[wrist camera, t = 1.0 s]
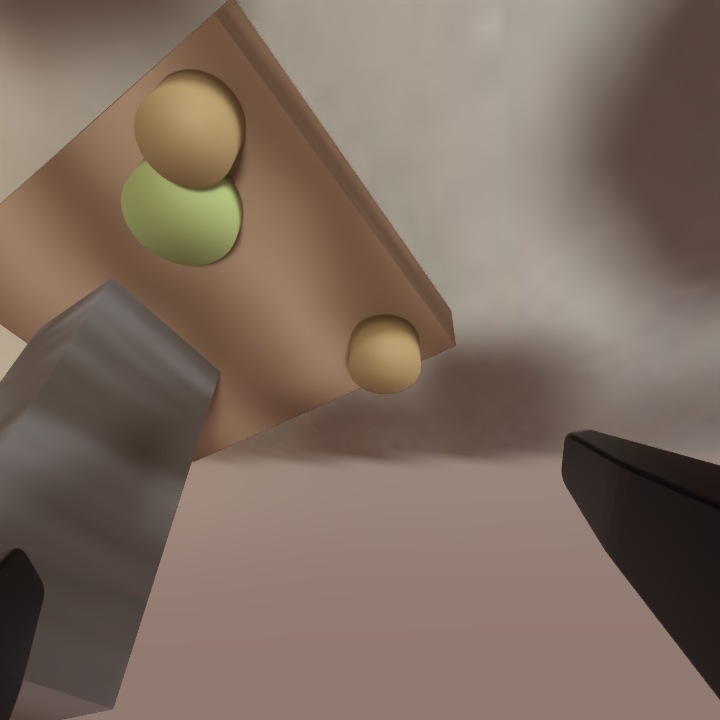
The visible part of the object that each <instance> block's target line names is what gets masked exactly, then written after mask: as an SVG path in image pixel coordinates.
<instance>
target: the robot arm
mask: <svg viewBox="0 0 720 720" xmlns="http://www.w3.org/2000/svg"><path fill="white" fill-rule="evenodd" d="M562 477H563V481H564V483H565V485H566V487H567V489H568V490H569V492H570V494H571V495H572V497H573V499H574V500H575V502H576V504H577V505H578V507H579V508H580V510H581V512H582V514H583V515H584V517H585V519H586V520H587V522H588V524H589V525H590V527H591V529H592V530H593V532H594V534H595V535H596V537H597V538H598V540H599V541H600V543H601V545H602V546H603V548H604V549H605V551H606V552H607V554H608V555H609V556H610V558H611V559H612V560H613V562H614V563H615V564H616V566H617V567H618V568H619V570H620V571H621V572H622V573H623V575H624V576H625V577H626V579H627V580H628V581H629V582H630V584H631V585H632V586H633V588H634V589H635V590H636V591H637V593H638V594H639V595H640V597H641V598H642V599H643V601H644V602H645V603H646V605H647V606H648V607H649V609H650V610H651V611H652V612H653V614H654V615H655V616H656V618H657V619H658V620H659V622H660V623H661V624H662V625H663V627H664V628H665V629H666V631H667V632H668V633H669V634H670V636H671V637H672V638H673V639H674V641H675V642H676V643H677V645H678V646H679V647H680V649H681V650H682V651H683V653H684V654H685V655H686V657H687V658H688V659H689V660H690V662H691V663H692V664H693V666H694V667H695V668H696V670H697V671H698V672H699V673H700V675H701V676H702V677H703V678H704V680H705V681H706V682H707V684H708V685H709V686H710V688H711V689H712V690H713V691H714V693H715V694H716V696H717V697H718V698H719V699H720V465H716V464H713V463H709V462H706V461H702V460H698V459H695V458H691V457H687V456H684V455H680V454H677V453H673V452H669V451H666V450H662V449H658V448H655V447H651V446H648V445H644V444H640V443H637V442H633V441H629V440H626V439H622V438H619V437H615V436H611V435H608V434H604V433H600V432H597V431H593V430H583V431H578V432H573V433H569V434H568V435H567V436H566V438H565V441H564V451H563V460H562ZM44 593H45V591H44V585H43V582H42V579H41V578H40V576H39V574H38V573H37V571H36V569H35V568H34V566H33V564H32V562H31V561H30V559H29V557H28V556H27V554H26V553H25V551H24V550H22V549H20V548H12V549H7V550H2V551H0V720H10V718H11V715H12V712H13V710H14V707H15V704H16V701H17V699H18V696H19V693H20V690H21V687H22V684H23V680H24V677H25V673H26V669H27V665H28V661H29V657H30V653H31V649H32V645H33V641H34V637H35V634H36V630H37V626H38V622H39V618H40V614H41V610H42V606H43V602H44Z"/></svg>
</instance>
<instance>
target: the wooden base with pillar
mask: <svg viewBox="0 0 720 720" xmlns="http://www.w3.org/2000/svg"><path fill="white" fill-rule="evenodd" d="M0 324H1V325H2V326H4V327H5V328H7V329H8V330H9V331H11V332H12V333H14V334H15V335H16V336H18V337H19V338H21V339H22V340H23V341H25V342H26V343H28V344H27V346H26V347H25V349H24V350H23V351H22V353H21V354H20V355H19V357H18V358H17V360H16V361H15V362H14V364H13V365H12V367H11V368H10V369H9V371H8V372H7V373H6V375H5V376H4V378H3V379H2V380H1V382H0V551H2V550H7V549H12V548H20V549H22V550H24V551H25V553H26V554H27V556H28V557H29V559H30V561H31V562H32V564H33V566H34V568H35V569H36V571H37V573H38V574H39V576H40V578H41V579H42V582H43V585H44V591H45V593H44V602H43V606H42V610H41V614H40V618H39V622H38V626H37V630H36V634H35V637H34V641H33V645H32V649H31V653H30V657H29V661H28V665H27V669H26V673H25V677H24V680H23V684H22V687H21V690H20V693H19V696H18V699H17V701H16V704H15V707H14V710H13V712H12V715H11V718H10V720H63V719H67V718H72V717H78V716H82V715H87V714H92V713H97V712H102V711H107V710H112V709H113V708H114V705H115V702H116V699H117V696H118V693H119V689H120V686H121V683H122V680H123V677H124V673H125V670H126V667H127V664H128V661H129V658H130V655H131V651H132V648H133V645H134V642H135V639H136V636H137V633H138V629H139V626H140V623H141V620H142V617H143V613H144V611H145V607H146V604H147V601H148V598H149V594H150V592H151V589H152V585H153V582H154V579H155V576H156V573H157V569H158V566H159V563H160V560H161V557H162V554H163V551H164V547H165V544H166V541H167V538H168V535H169V531H170V529H171V525H172V522H173V519H174V516H175V513H176V509H177V507H178V503H179V500H180V497H181V494H182V491H183V488H184V484H185V481H186V478H187V475H188V472H189V469H190V466H191V462H192V461H193V462H194V461H197V460H199V459H201V458H203V457H206V456H208V455H210V454H212V453H215V452H217V451H219V450H221V449H224V448H226V447H228V446H230V445H233V444H235V443H237V442H240V441H242V440H244V439H246V438H249V437H251V436H253V435H255V434H258V433H260V432H262V431H264V430H267V429H269V428H271V427H273V426H276V425H278V424H280V423H282V422H285V421H287V420H289V419H291V418H294V417H296V416H298V415H300V414H303V413H305V412H307V411H309V410H312V409H314V408H316V407H318V406H321V405H323V404H325V403H328V402H330V401H332V400H334V399H337V398H339V397H341V396H343V395H346V394H348V393H350V392H352V391H355V390H357V389H359V388H363V389H365V390H367V391H370V392H373V393H379V394H391V393H397V392H400V391H403V390H405V389H407V388H409V387H410V386H411V385H413V384H414V383H415V382H416V380H417V379H418V377H419V375H420V372H421V361H422V360H425V359H427V358H429V357H431V356H434V355H436V354H438V353H440V352H443V351H445V350H447V349H449V348H452V347H454V346H456V343H455V336H454V328H453V321H452V314H451V310H450V308H449V307H448V305H447V304H446V303H445V301H444V300H443V298H442V297H441V295H440V294H439V293H438V291H437V290H436V288H435V287H434V285H433V284H432V282H431V281H430V280H429V278H428V277H427V275H426V274H425V272H424V271H423V270H422V268H421V267H420V265H419V264H418V262H417V261H416V260H415V258H414V257H413V255H412V254H411V252H410V251H409V249H408V248H407V247H406V245H405V244H404V242H403V241H402V239H401V238H400V237H399V235H398V234H397V232H396V231H395V229H394V228H393V226H392V225H391V224H390V222H389V221H388V219H387V218H386V216H385V215H384V214H383V212H382V211H381V209H380V208H379V206H378V205H377V204H376V202H375V201H374V199H373V198H372V196H371V195H370V193H369V192H368V191H367V189H366V188H365V186H364V185H363V183H362V182H361V181H360V179H359V178H358V176H357V175H356V173H355V172H354V171H353V169H352V168H351V166H350V165H349V163H348V162H347V160H346V159H345V158H344V156H343V155H342V153H341V152H340V150H339V149H338V148H337V146H336V145H335V143H334V142H333V140H332V139H331V138H330V136H329V135H328V133H327V132H326V130H325V129H324V127H323V126H322V125H321V123H320V122H319V120H318V119H317V117H316V116H315V115H314V113H313V112H312V110H311V109H310V107H309V106H308V105H307V103H306V102H305V100H304V99H303V97H302V96H301V94H300V93H299V92H298V90H297V89H296V87H295V86H294V84H293V83H292V82H291V80H290V79H289V77H288V76H287V74H286V73H285V71H284V70H283V69H282V67H281V66H280V64H279V63H278V61H277V60H276V59H275V57H274V56H273V54H272V53H271V51H270V50H269V49H268V47H267V46H266V44H265V43H264V41H263V40H262V38H261V37H260V36H259V34H258V33H257V31H256V30H255V28H254V27H253V26H252V24H251V23H250V21H249V20H248V18H247V17H246V16H245V14H244V13H243V11H242V10H241V8H240V7H239V5H238V4H237V3H236V1H235V0H228V1H227V2H226V3H225V4H224V5H223V6H222V7H220V8H219V9H218V10H217V11H216V12H215V13H214V14H213V15H211V16H210V17H209V18H208V19H207V20H206V21H205V22H204V23H202V24H201V25H200V26H199V27H198V28H197V29H196V30H195V31H194V32H192V33H191V34H190V35H189V36H188V37H187V38H186V39H185V40H183V41H182V42H181V43H180V44H179V45H178V46H177V47H176V48H174V49H173V50H172V51H171V52H170V53H169V54H168V55H167V56H165V57H164V58H163V59H162V60H161V61H160V62H159V63H158V64H156V65H155V66H154V67H153V68H152V69H151V70H150V71H149V72H148V73H146V74H145V75H144V76H143V77H142V78H141V79H140V80H139V81H137V82H136V83H135V84H134V85H133V86H132V87H131V88H130V89H128V90H127V91H126V92H125V93H124V94H123V95H122V96H121V97H119V98H118V99H117V100H116V101H115V102H114V103H113V104H112V105H110V106H109V107H108V108H107V109H106V110H105V111H104V112H103V113H101V114H100V115H99V116H98V117H97V118H96V119H95V120H94V121H93V122H91V123H90V124H89V125H88V126H87V127H86V128H85V129H84V130H82V131H81V132H80V133H79V134H78V135H77V136H76V137H75V138H73V139H72V140H71V141H70V142H69V143H68V144H67V145H66V146H64V147H63V148H62V149H61V150H60V151H59V152H58V153H57V154H55V155H54V156H53V157H52V158H51V159H50V160H49V161H48V162H47V163H45V164H44V165H43V166H42V167H41V168H40V169H39V170H38V171H36V172H35V173H34V174H33V175H32V176H31V177H30V178H29V179H27V180H26V181H25V182H24V183H23V184H22V185H21V186H20V187H18V188H17V189H16V190H15V191H14V192H13V193H12V194H11V195H9V196H8V197H7V198H6V199H5V200H4V201H3V202H2V203H1V204H0Z"/></svg>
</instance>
